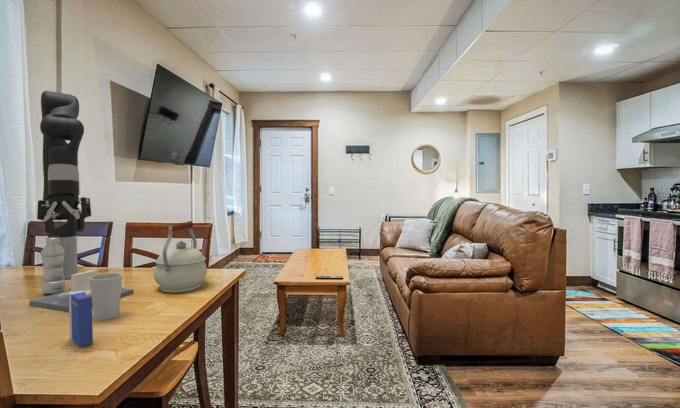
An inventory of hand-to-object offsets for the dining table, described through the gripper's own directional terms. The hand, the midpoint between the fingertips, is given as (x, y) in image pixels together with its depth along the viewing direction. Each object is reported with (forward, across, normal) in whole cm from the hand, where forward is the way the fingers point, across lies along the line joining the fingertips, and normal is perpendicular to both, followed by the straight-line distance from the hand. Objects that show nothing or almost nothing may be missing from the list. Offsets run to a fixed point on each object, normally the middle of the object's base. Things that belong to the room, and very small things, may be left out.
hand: (64, 232), depth 103 cm
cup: (+26, -14, +3) cm, 29 cm away
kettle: (+23, -24, -28) cm, 43 cm away
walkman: (+28, -17, +19) cm, 38 cm away
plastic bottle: (+21, +18, -19) cm, 33 cm away
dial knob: (+21, +4, -10) cm, 24 cm away
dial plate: (+22, +3, -12) cm, 26 cm away
